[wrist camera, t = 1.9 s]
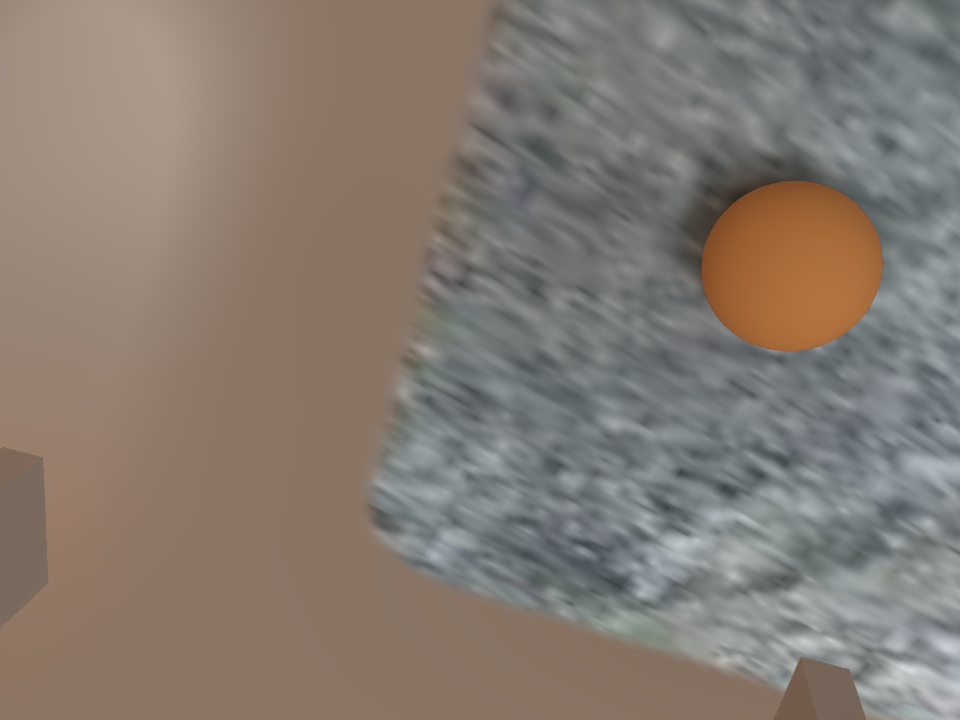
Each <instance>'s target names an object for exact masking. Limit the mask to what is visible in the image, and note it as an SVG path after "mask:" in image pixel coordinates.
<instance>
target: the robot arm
mask: <svg viewBox="0 0 960 720" xmlns="http://www.w3.org/2000/svg"><path fill="white" fill-rule="evenodd" d="M47 584H48V565H47V541H46V516H45V491H44V468H43V457H38V456H35V455H31V454H27V453H23V452H20V451H16V450H12V449H8V448H4V447H3V448H1V449H0V628H1V627H2V626H3V625H4V624H5V623H6V622H7V621H8V620H10V618H12V617H13V616H14V615H15V614H16V613H17V612H18V611H19V610H20V609H21V608H22V607H24V606H25V605H26V604H27V603H28V602H29V601H30V600H31V599H32V598H33V597H34V596H35V595H36V594H37V593H39V591H41V590H42V589H43V588H44V587H45V586H46V585H47ZM774 720H866V717H865V714H864V711H863V708H862V705H861V702H860V699H859V696H858V693H857V690H856V687H855V684H854V681H853V678H852V675H851V672H850V669H846V668H842V667H838V666H835V665H831V664H827V663H823V662H819V661H816V660H812V659H808V658H804V657H800V660H799V662H798V664H797V667H796V669H795V671H794V674H793V676H792V678H791V680H790V683H789V685H788V687H787V690H786V692H785V694H784V697H783V699H782V701H781V703H780V706H779V708H778V710H777V713H776V715H775V717H774Z"/></svg>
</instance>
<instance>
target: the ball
mask: <svg viewBox="0 0 960 720" xmlns="http://www.w3.org/2000/svg"><path fill="white" fill-rule="evenodd" d="M882 265H883V261H882V249H881V245H880V241H879V237H878V235H877V232H876V230H875V227H874V226H873V224H872V222H871V221H870V219H869V217H868V216H867V215H866V213H865V212H864V211H863V210H862V209H861V207H860V206H859V205H857V204H856V203H855V202H854V201H853V200H852V199H850V198H849V197H847V196H846V195H844V194H843V193H841V192H839V191H837V190H835V189H833V188H831V187H828V186H825V185H822V184H819V183H814V182H809V181H783V182H778V183H773V184H769V185H766V186H763V187H760V188H758V189H756V190H753V191H751V192H749V193H748V194H746V195H744V196H743V197H741V198H740V199H738V200H737V201H736V202H735V203H733V204H732V205H731V206H730V207H729V208H728V209H727V210H726V211H725V212H724V213H723V214H722V215H721V217H720V218H719V219H718V221H717V222H716V223H715V225H714V227H713V228H712V230H711V232H710V234H709V236H708V239H707V241H706V244H705V248H704V252H703V258H702V281H703V287H704V290H705V294H706V297H707V299H708V301H709V303H710V306H711V308H712V310H713V311H714V313H715V314H716V316H717V317H718V318H719V319H720V321H721V322H722V323H723V324H724V325H725V326H726V327H727V328H728V329H730V330H731V331H732V332H733V333H734V334H736V335H737V336H739V337H740V338H742V339H743V340H745V341H747V342H749V343H751V344H754V345H757V346H760V347H763V348H767V349H772V350H779V351H799V350H806V349H810V348H814V347H818V346H821V345H823V344H826V343H828V342H830V341H832V340H834V339H836V338H838V337H840V336H841V335H843V334H844V333H846V332H847V331H848V330H849V329H851V328H852V327H853V326H854V325H855V324H856V323H857V322H858V321H859V320H860V319H861V318H862V317H863V316H864V314H865V313H866V311H867V310H868V308H869V307H870V305H871V303H872V301H873V299H874V298H875V296H876V293H877V290H878V288H879V285H880V280H881V276H882Z"/></svg>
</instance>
